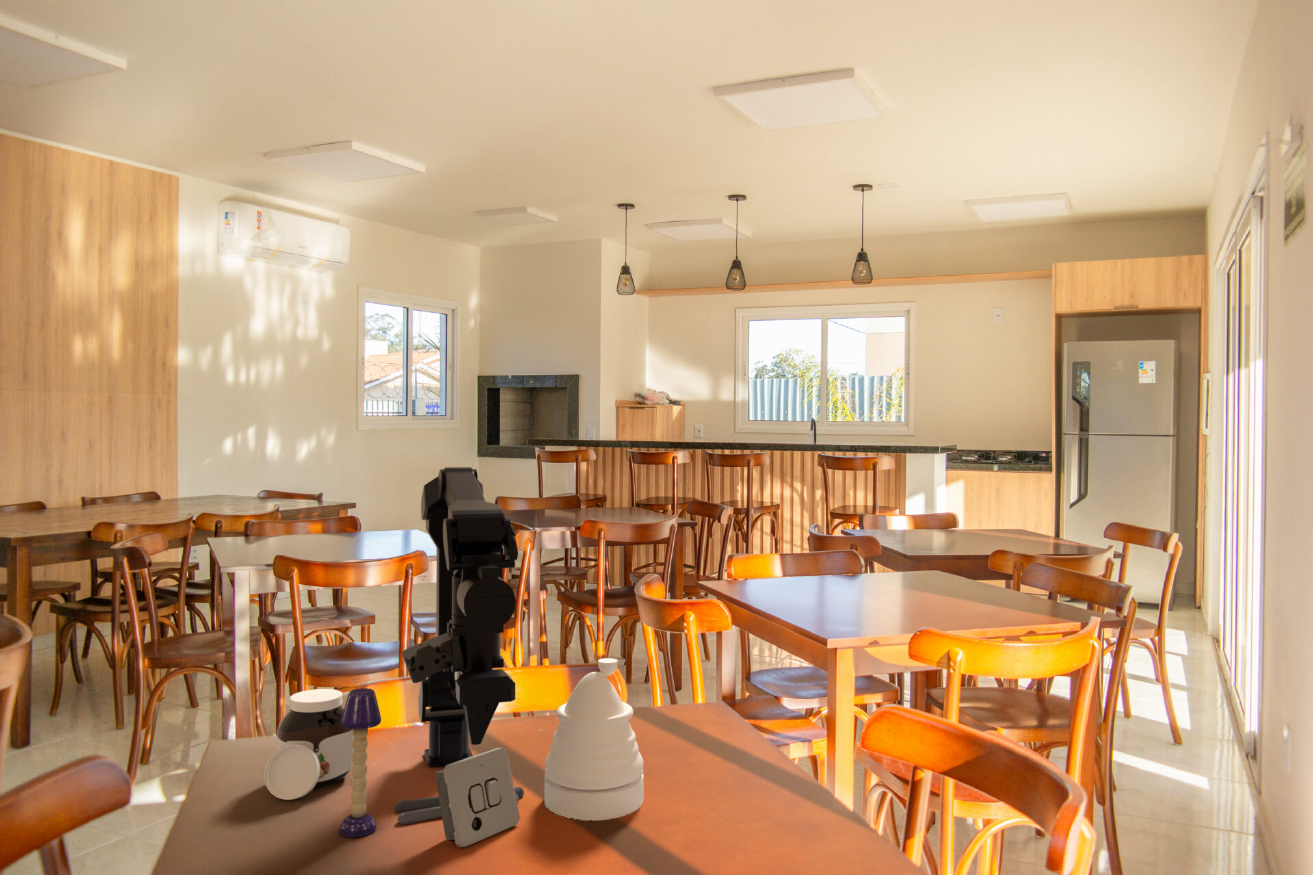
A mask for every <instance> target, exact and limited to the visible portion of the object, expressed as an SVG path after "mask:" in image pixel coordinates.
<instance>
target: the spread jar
mask: <svg viewBox="0 0 1313 875" xmlns="http://www.w3.org/2000/svg"><path fill="white" fill-rule="evenodd" d="M344 708H345V707H344V706H343V692H342V691H340V690H338V689H330V688H319V689H318V688H317V689H307V690H304V691H298V692H296V693H293V694H292V695H290V697H289V711H288V712H287V713H286V714H285V715H284V717H282V718H281V720H280V721H279V724H278V727H277V730H276V739H275V740H276V741H275V743H276V746H275V751H274V752H273V754H271V756H270V757H269V759H268V760H267V762H266V764H265V768H264V771H263V772H264V773H263V778H264V783H265V786H266V788H267V790H268V791H269V792H270V793H271V794H272V795H273V796H274V797H276V798H278V799H281V800H284V801H285V800H287V801H288V800H289V801H290V800H297V799H300V798H302V797H304V796H306V795H307V794H309V793H310V792H311V791H313V790H319V789H324V788H327V787H331V786H333V785H336V784H338V783H339V782H341V781H342V780H343V779H344V778H345V777H347V775H348V774H349V773H350V771H351V769H352V765H353V762H352V753H353V751H354V750H353V748H352V742H353V739H354V737H353V734H352V730H353V729H347V728H344V727H342V726H341V719H342V715H343V711H344Z"/></svg>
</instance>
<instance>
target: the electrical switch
mask: <svg viewBox="0 0 1313 875" xmlns="http://www.w3.org/2000/svg"><path fill="white" fill-rule="evenodd" d="M444 766H445V767H444V769H442V770H439V771H436V772H434V778H435V784H436V789H437V794H438V795H437V796H439V802H440V808H441V814H442V818H441V819H442V824H443V829H444V830H443V831H444V835H445V836H444V837H445V840H449V841H450V840H453V841H454V843H455V845H456V846H457V847H458V848H466V847H469V846H472V845H473V844H475V843H478V842H480V841H483V840H485V839H487V838H489V837H491V836H494V835H496V834H498V833H500V832H502V831H503V832H504V831H505V830H508V829H510V828H513V827H514V826H517V825H518V824H519V822H520V820H521V818H520V811H519V807H518V803H517V800H516V795H515V789H514V787H515V785H514V780H513V779H514V778H513V774H512V768H511V762H510V758H509V754H508V750H507V749H506V748H505V747H496V748H493V749H490V750H488V751H484V752H481V753H478V754H476V755H473V756H472V757H469V758H466V759H463V760H460V761H457V762H454V763H451V764H448V765H444ZM447 797H448V799H447ZM447 803H449V807H450V810H449V808H448V805H447ZM449 813H451V814H449Z"/></svg>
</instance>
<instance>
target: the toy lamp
mask: <svg viewBox="0 0 1313 875" xmlns="http://www.w3.org/2000/svg"><path fill="white" fill-rule="evenodd" d="M378 703H379V702H378V699H377V696H376V692H375V690H374V689H372V688H366V687H364V688H355V689H352V690H350V691H349V692H348V694H347V698H346V701H345V705H344V707H343V708H344V711H343V715H342V719H341V726H342V727H344V728H347V729H353V730H352V734H353V737H354V739H353V742H352V748H353V750H354V751H353V753H352V762H353V765H352V768H351V770H350V771H351V776H352V779H351V783H350V785H351V789H352V790H351V795H350V799H351V803H352V804H351V807H350V813H351V814H349V815H348V816H346V817H345V818H344V819H343V820H342V822H341V824H340V826H339V835H341V836H343V837H348V838H359V837H364V836H368V835H370V834H372V833H374V832H375V831H376V830H377V823H376V820H375V818H374V817H373V816H372V815H371V814H369V813H366V811H367V804H366V800H367V798H368V797H367V790H366V787H367V784H368V778H367V776H366V775H367V772H368V765H367V760H368V751H367V748H368V744H369V742H368V738H367V736H368V734H369V729H372V728H375V727H377V726H379V725H380V724H381V722H382V716H381V711H380V707H379V704H378Z"/></svg>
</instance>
